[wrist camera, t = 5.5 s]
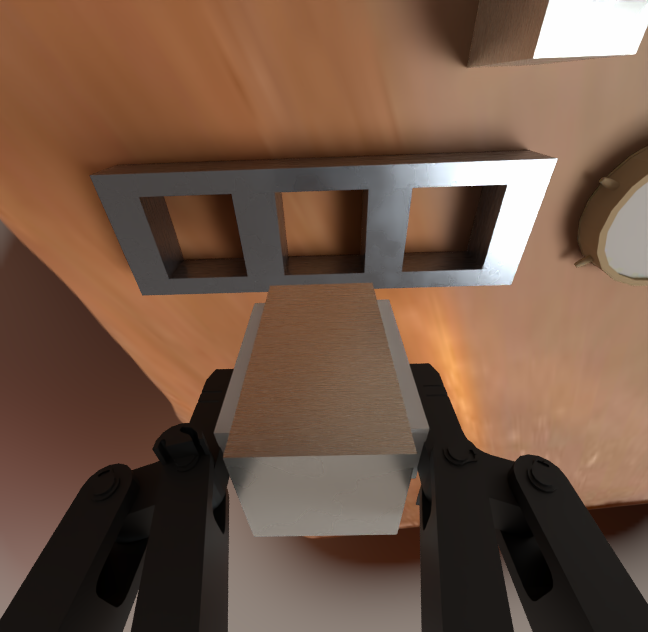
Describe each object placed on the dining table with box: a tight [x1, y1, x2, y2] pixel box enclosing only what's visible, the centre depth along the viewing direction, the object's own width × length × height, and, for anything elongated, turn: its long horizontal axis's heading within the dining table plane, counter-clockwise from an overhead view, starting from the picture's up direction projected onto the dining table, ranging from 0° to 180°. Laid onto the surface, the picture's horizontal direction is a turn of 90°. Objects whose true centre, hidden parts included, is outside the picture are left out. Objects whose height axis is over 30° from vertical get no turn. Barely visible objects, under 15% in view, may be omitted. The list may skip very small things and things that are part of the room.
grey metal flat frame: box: [90, 150, 557, 295], centre depth 25 cm, size 10×31×4 cm, turn 92°
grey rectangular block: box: [223, 283, 417, 537], centre depth 12 cm, size 4×4×8 cm
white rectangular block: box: [467, 0, 648, 68], centre depth 16 cm, size 4×4×8 cm
